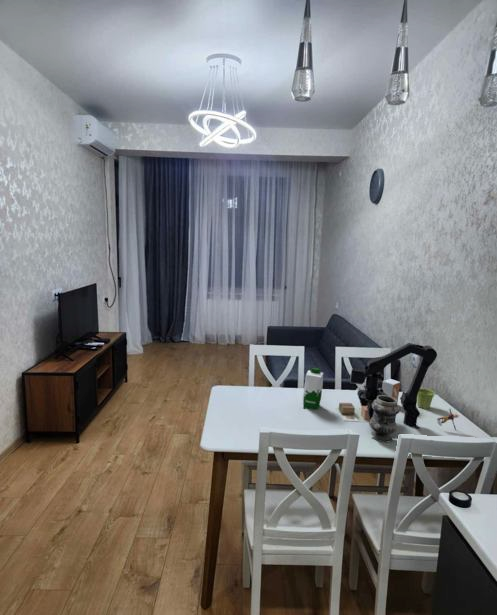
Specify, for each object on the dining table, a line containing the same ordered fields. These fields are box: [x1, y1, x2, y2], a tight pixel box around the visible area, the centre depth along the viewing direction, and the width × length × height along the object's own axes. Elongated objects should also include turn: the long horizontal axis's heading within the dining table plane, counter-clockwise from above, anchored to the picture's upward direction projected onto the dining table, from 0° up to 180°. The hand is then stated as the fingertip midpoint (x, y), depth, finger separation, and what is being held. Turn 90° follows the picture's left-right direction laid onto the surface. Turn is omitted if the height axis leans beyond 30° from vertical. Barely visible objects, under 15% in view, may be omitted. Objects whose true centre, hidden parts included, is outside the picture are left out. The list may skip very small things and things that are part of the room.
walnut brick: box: [338, 402, 356, 416], centre depth 207 cm, size 6×6×4 cm
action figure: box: [436, 408, 459, 431], centre depth 198 cm, size 12×3×9 cm
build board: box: [334, 407, 369, 423], centre depth 206 cm, size 16×16×1 cm
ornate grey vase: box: [368, 395, 401, 443], centre depth 184 cm, size 12×12×18 cm
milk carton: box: [302, 367, 324, 410], centre depth 211 cm, size 9×9×20 cm
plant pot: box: [416, 387, 436, 410], centre depth 224 cm, size 9×9×9 cm
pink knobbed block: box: [360, 405, 370, 420], centre depth 203 cm, size 5×5×6 cm
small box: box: [381, 378, 401, 404], centre depth 223 cm, size 8×6×13 cm
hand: (367, 416), depth 203 cm, fingers open, 9 cm apart
